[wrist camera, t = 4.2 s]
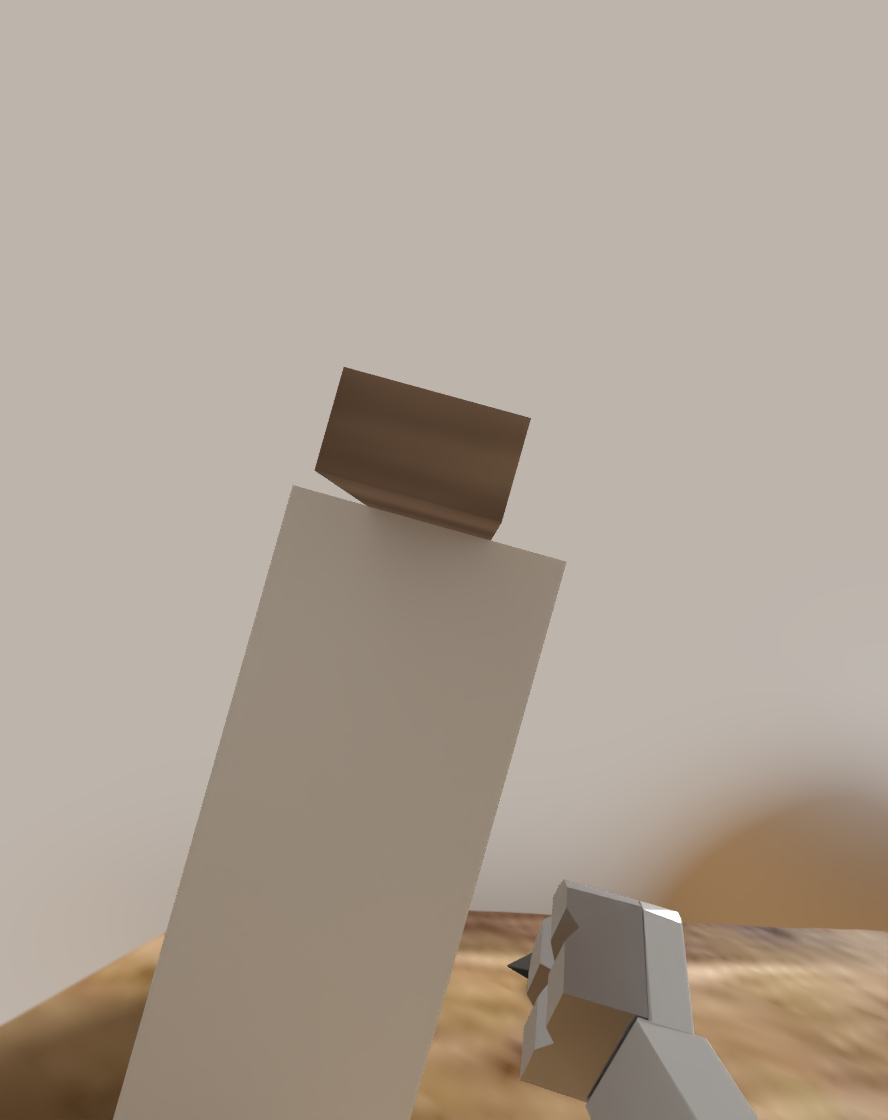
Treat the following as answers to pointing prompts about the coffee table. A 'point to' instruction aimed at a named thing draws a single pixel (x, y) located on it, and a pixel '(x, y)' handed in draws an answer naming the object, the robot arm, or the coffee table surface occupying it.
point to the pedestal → (342, 821)
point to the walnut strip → (422, 453)
